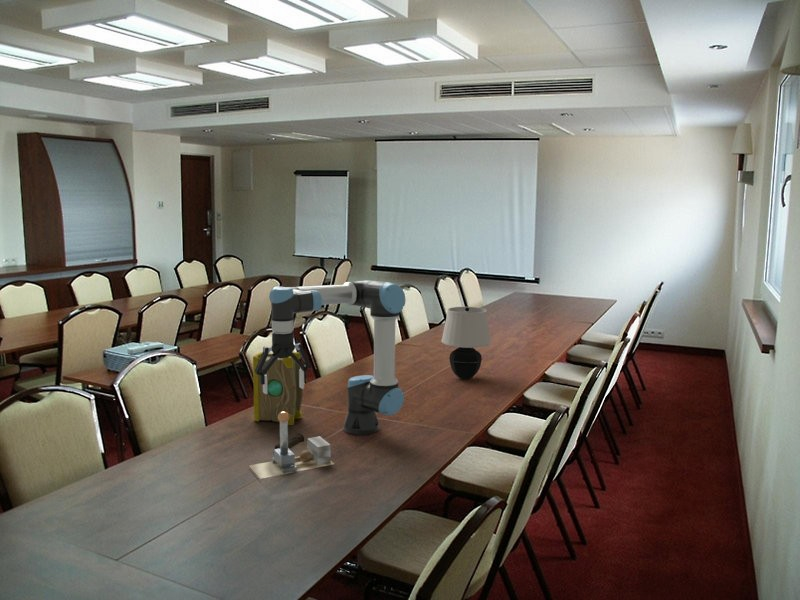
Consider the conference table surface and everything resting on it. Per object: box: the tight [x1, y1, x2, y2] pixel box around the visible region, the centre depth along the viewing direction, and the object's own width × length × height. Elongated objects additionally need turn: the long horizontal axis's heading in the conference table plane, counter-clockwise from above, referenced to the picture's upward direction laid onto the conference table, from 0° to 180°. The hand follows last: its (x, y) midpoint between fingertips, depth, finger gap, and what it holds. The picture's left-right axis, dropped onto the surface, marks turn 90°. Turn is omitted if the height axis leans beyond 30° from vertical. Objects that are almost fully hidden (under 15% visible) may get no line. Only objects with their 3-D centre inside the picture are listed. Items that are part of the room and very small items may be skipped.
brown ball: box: [299, 449, 312, 462], centre depth 244 cm, size 4×4×4 cm
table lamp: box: [440, 306, 492, 381], centre depth 365 cm, size 27×27×40 cm
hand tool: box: [273, 433, 305, 450], centre depth 260 cm, size 19×4×5 cm, turn 154°
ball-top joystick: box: [271, 411, 297, 473], centre depth 239 cm, size 5×12×20 cm, turn 30°
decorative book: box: [252, 351, 304, 426], centre depth 293 cm, size 20×11×30 cm, turn 77°
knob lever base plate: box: [248, 435, 335, 484], centre depth 242 cm, size 28×13×8 cm, turn 120°
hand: (283, 390), depth 237 cm, fingers open, 13 cm apart
